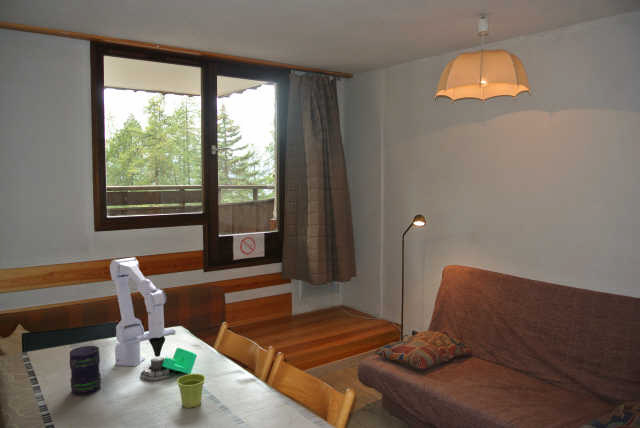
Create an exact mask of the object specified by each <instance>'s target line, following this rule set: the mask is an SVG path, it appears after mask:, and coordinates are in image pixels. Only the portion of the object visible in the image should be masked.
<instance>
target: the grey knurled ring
mask: <svg viewBox="0 0 640 428" xmlns="http://www.w3.org/2000/svg"><path fill="white" fill-rule="evenodd" d="M142 369H143V371H141V372H140V379H141V380H143V381H145V382H158V381H163V380H167V379H169V378H172V377H173V376H174V375H175V374H176V370H174V369H170V368H166V367H165V368H164V369H161V370H151V363H149V364H147V365H145V366H144V367H143V368H142Z"/></svg>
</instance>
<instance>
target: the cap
mask: <svg viewBox="0 0 640 428" xmlns="http://www.w3.org/2000/svg"><path fill="white" fill-rule="evenodd" d="M164 359H165V357H162V356H161V357H160V356H159V357H154V358H152V359H150V364H151V370H161V369H164V368H165V367H163V366H162V365H163V362H164Z"/></svg>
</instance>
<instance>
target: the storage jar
mask: <svg viewBox="0 0 640 428" xmlns="http://www.w3.org/2000/svg"><path fill="white" fill-rule="evenodd" d="M100 359H101V356H100V347H99V346H95V345H86V346H79V347H76V348H74V349H72V350H70V351H69V368H70V373H71V374H70V375H71V377H70V389H71V391H70V392H71V394H72V396H74V397H86V396H90V395H93V394H96V393H98V392H99V391H100V390H101V386H102V385H101V382H102V380H101V371H100V362H101V360H100Z"/></svg>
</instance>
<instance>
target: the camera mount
mask: <svg viewBox="0 0 640 428" xmlns="http://www.w3.org/2000/svg"><path fill="white" fill-rule="evenodd" d="M197 355H198V354H197V353H195V352H193V351H190V350H187V349H184V348H180V347H177V348H176V349H175V352H174V354H173V356H172V357H173V358H170V357H166V356H165V357H164V362H163V365H162V366H163V367H166V368H170V369H174V370H175V371H178V372H181V373H185V374H192V371H193V368H194V365H195V362H196V359H197Z"/></svg>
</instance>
